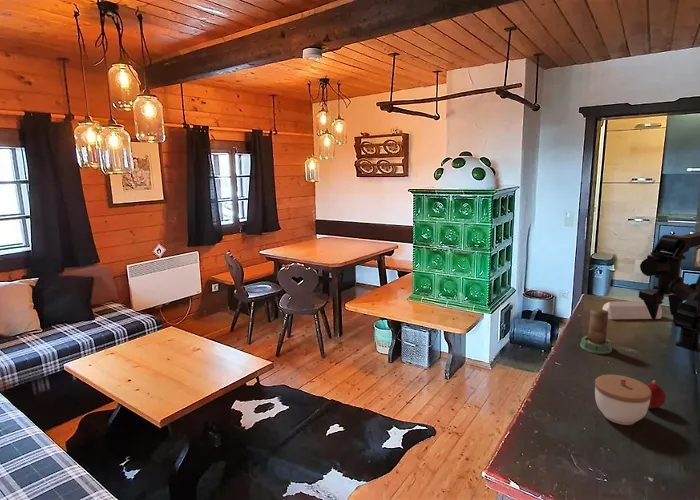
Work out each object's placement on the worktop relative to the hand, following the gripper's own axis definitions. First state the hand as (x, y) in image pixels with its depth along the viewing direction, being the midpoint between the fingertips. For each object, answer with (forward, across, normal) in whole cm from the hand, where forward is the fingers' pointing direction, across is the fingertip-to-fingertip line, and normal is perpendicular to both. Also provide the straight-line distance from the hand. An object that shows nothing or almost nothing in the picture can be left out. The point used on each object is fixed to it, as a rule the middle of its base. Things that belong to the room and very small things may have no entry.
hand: (663, 316), depth 151 cm
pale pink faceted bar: (+13, +22, +28) cm, 39 cm away
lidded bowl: (+14, -46, -24) cm, 54 cm away
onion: (+13, -35, -24) cm, 44 cm away
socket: (+13, -17, +11) cm, 24 cm away
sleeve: (+12, -17, +11) cm, 23 cm away
